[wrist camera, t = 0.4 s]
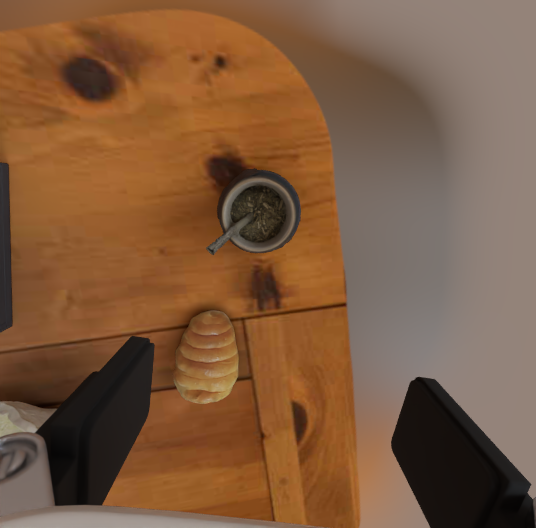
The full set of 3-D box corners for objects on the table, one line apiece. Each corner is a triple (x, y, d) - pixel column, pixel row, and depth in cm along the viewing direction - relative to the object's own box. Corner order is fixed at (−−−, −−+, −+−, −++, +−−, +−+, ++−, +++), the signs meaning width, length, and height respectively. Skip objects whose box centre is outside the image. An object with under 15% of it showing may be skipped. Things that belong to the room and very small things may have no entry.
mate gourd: (312, 211, 29) (338, 219, 19) (257, 263, 30) (255, 297, 20) (260, 155, 27) (259, 133, 18) (205, 212, 28) (176, 221, 19)
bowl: (8, 349, 31) (-106, 418, 22) (134, 391, 33) (80, 474, 23) (-17, 455, 35) (-127, 557, 25) (99, 489, 36) (38, 599, 26)
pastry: (182, 303, 31) (171, 318, 27) (246, 311, 31) (244, 326, 27) (176, 381, 33) (165, 405, 29) (236, 387, 33) (233, 411, 29)
